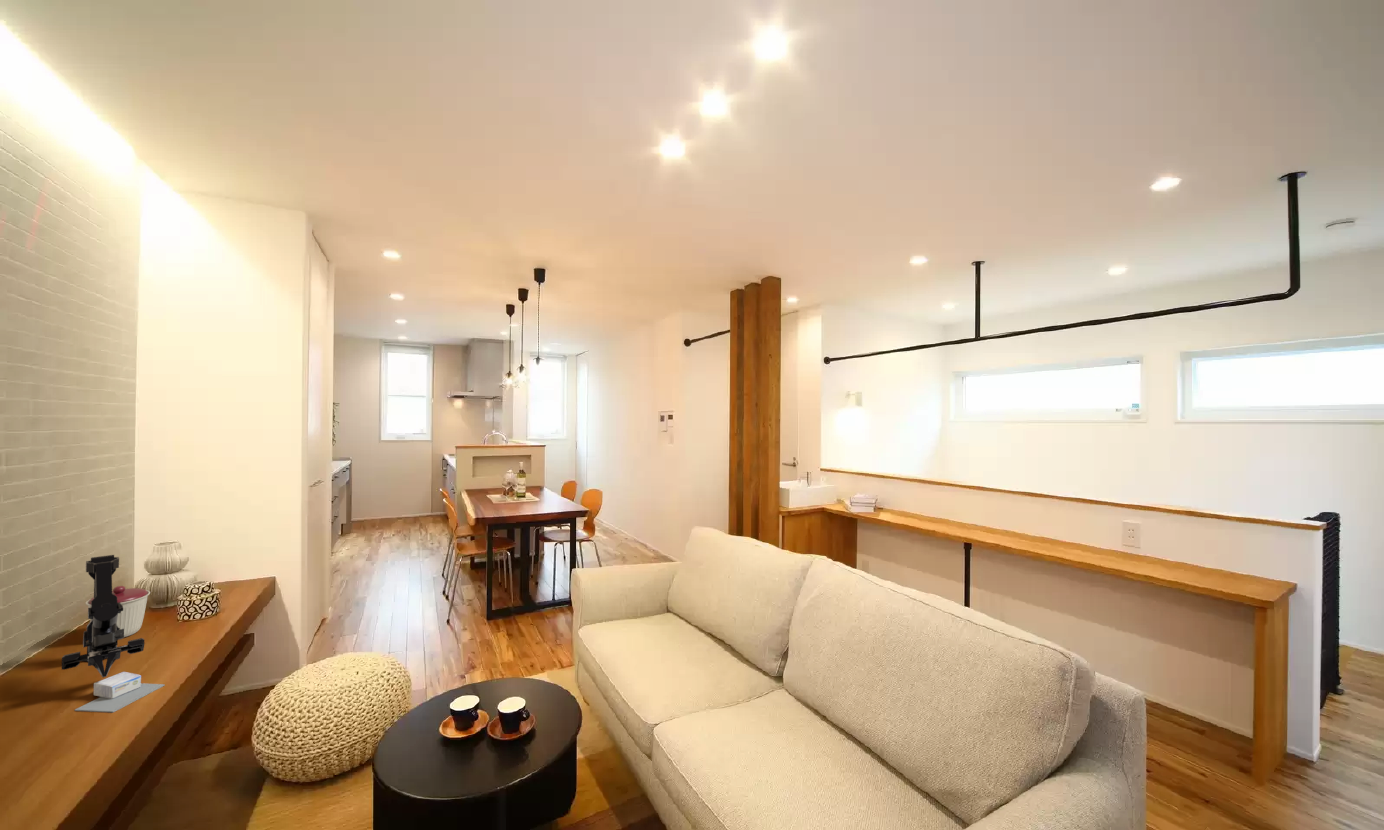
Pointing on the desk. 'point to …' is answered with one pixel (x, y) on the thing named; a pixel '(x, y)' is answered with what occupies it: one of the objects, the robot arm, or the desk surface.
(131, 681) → the medicine box
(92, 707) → the slate mat
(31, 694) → the desk surface
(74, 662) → the robot arm
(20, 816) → the desk surface
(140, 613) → the canister
